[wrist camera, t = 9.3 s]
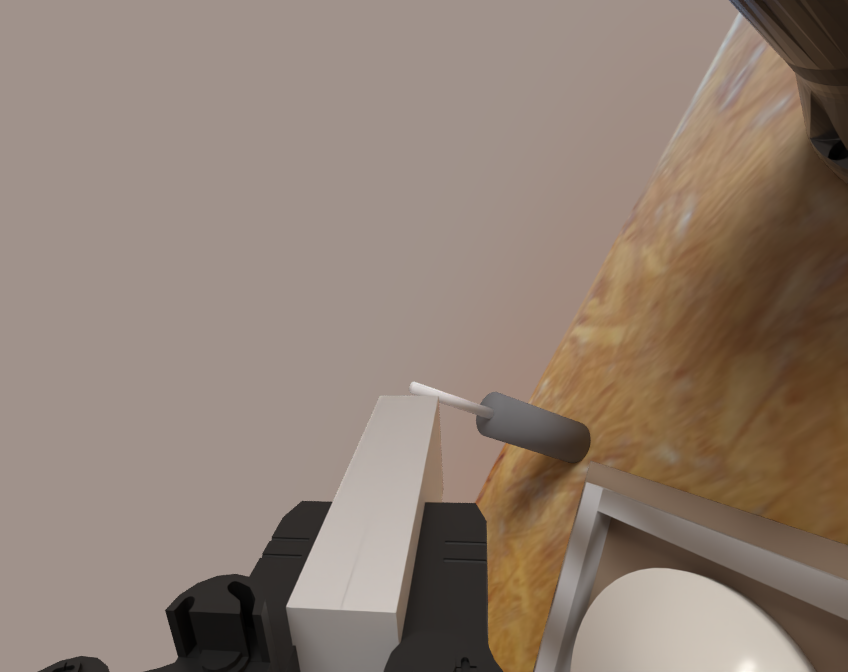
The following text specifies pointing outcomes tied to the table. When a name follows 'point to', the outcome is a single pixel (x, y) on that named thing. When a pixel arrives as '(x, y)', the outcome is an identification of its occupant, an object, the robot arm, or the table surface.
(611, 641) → the dial
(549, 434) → the screwdriver
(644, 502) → the dial housing
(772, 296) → the table surface
